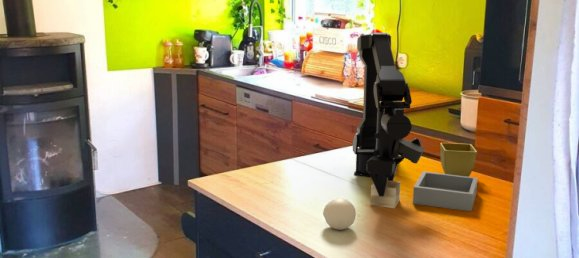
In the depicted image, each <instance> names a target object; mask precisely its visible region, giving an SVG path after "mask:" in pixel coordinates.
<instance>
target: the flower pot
mask: <svg viewBox="0 0 579 258" xmlns="http://www.w3.org/2000/svg"><path fill="white" fill-rule="evenodd" d="M439 147H440V165H441V167H442V170H443V174H449V175H458V176H467V177H471V175H472V172H473V170H474V167H475V164H476V158H477V154H478V151H477V150H476V148H475V147H474V146H473V144H472V143H461V142H460V143H459V142H457V143H455V142H440V146H439Z"/></svg>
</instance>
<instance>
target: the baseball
mask: <svg viewBox="0 0 579 258" xmlns="http://www.w3.org/2000/svg"><path fill="white" fill-rule="evenodd" d="M322 214H323V217H324V220H325V223H326V224H327V225H328V226H329V227H331V228H332V229H334V230H346V229H349V228H350V227H352V226H353V224H354V223H355V220H356V215H357V212H356V208H355V206H354V205H353V203H352V202H351V201H350V200H348V199H345V198H334V199H331V200H330V201H329V202H328V203H327V204H326V205H325V206H324V208H323V212H322Z"/></svg>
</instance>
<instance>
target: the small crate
mask: <svg viewBox="0 0 579 258" xmlns="http://www.w3.org/2000/svg"><path fill="white" fill-rule="evenodd" d="M400 195H401V181H397V180H393V181H389V180H387V185H386V189H385V193H384V196H383V197H381V196H379V195H378V192H377V190H376V187H375V185H374V183H373V182H372V184H371V186H370V206H377V207H382V208H383V207H385V208H390V209H396V207H397V205H398V204H399V202H400V198H401V197H400Z"/></svg>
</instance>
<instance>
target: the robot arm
mask: <svg viewBox="0 0 579 258" xmlns="http://www.w3.org/2000/svg"><path fill="white" fill-rule="evenodd" d="M356 48H357V51H358V56H359V58H360V60H361V62H362V64H363V66H364V68H363V69H364V75H363V76H364V77H363V103H362V104H363V109H362V110H363V111H362V113H363V115H362V119H361V120H360V122H359V123H358V124H357V127H356V133H354V138H353V139H352V152H353V153H354V155H356V156H355V171H354V172H353V175H356V176H363V177H370V178H371V180H372V184H373V183H374V185H375V187H376V190H377V192H378V195H379V196H381V197H383V196H384V193H385V189H386V185H387V180H389V181H394V179H395V176H396V172H397V168H398V165H399V164H400V163H402V162H403V161H404V159H405V160H408V161H410V162H411V163H413V164H418V162H419V161H420V160H421V157H422V155H423V153H424V151H425V147H424V146H423V145H422V140H421V139H420V138H417V137H415V138H414V139H412V140H410V139H408V140H407V139H405V138H406V137H407V136H409V134H410V133H411V131H412V127H413V126H412V123H411V120H410V118H409V117H407V115H405V114H404V112H405V110H408V109H409V110H410V109H411V104H412V102H413V100H412V94H411V89H410V86H409V84H408V82H406V79H405V76H404V74H403V72H401V70H398V69H397V67H396V63H395V59H394V55H393V51H392V35H391V34H390V33H387V32H372V33H361V35H360V36H358V37H357V44H356ZM393 101H397V102H393ZM404 109H405V110H404Z"/></svg>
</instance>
